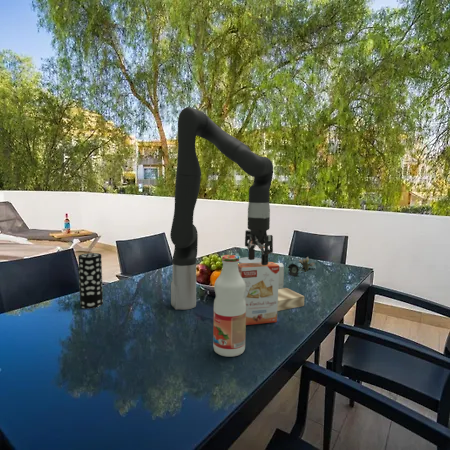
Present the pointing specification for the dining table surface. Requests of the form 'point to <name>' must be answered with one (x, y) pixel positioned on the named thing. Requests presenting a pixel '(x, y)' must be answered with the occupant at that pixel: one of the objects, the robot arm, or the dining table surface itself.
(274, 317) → the cracker box
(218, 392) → the dining table surface
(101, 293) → the white-spotted black cylinder
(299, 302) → the birch plinth
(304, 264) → the artificial flower
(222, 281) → the fruit juice
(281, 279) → the supplement box
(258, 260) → the chinaware
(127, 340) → the dining table surface
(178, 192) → the robot arm
